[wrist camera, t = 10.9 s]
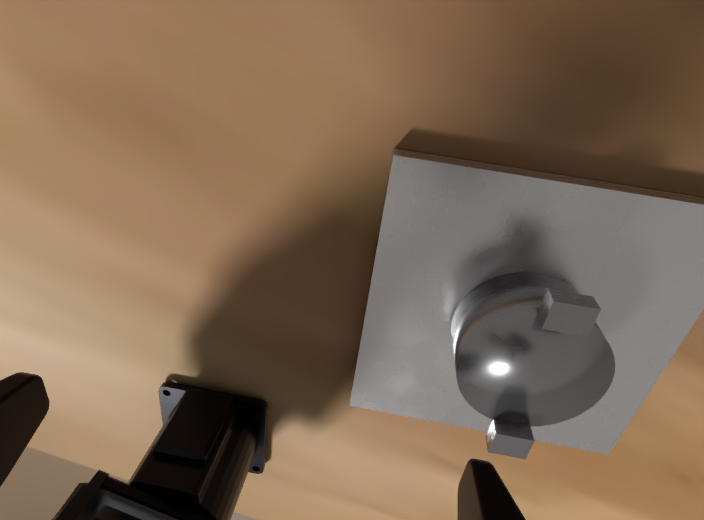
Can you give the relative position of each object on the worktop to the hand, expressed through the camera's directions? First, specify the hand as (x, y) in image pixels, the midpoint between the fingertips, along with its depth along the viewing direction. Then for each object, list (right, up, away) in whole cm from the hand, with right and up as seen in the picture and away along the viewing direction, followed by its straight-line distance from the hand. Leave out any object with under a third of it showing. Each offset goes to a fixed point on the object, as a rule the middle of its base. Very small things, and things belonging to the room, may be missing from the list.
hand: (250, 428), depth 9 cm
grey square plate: (+10, +1, +12) cm, 16 cm away
